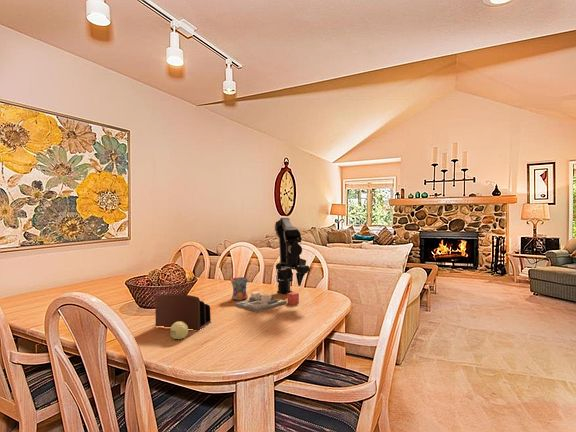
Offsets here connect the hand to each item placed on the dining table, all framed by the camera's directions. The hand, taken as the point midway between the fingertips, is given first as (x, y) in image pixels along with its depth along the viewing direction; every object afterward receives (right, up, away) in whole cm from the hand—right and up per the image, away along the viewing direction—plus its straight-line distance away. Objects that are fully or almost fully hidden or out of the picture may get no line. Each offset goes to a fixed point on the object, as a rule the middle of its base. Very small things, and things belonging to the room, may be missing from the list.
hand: (292, 284), depth 168 cm
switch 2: (-13, -8, -3) cm, 16 cm away
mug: (-28, -10, +12) cm, 32 cm away
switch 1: (-19, -8, +3) cm, 21 cm away
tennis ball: (-43, -11, -44) cm, 62 cm away
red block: (0, -9, 0) cm, 9 cm away
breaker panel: (-16, -10, -1) cm, 18 cm away
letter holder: (-46, -11, -29) cm, 55 cm away
